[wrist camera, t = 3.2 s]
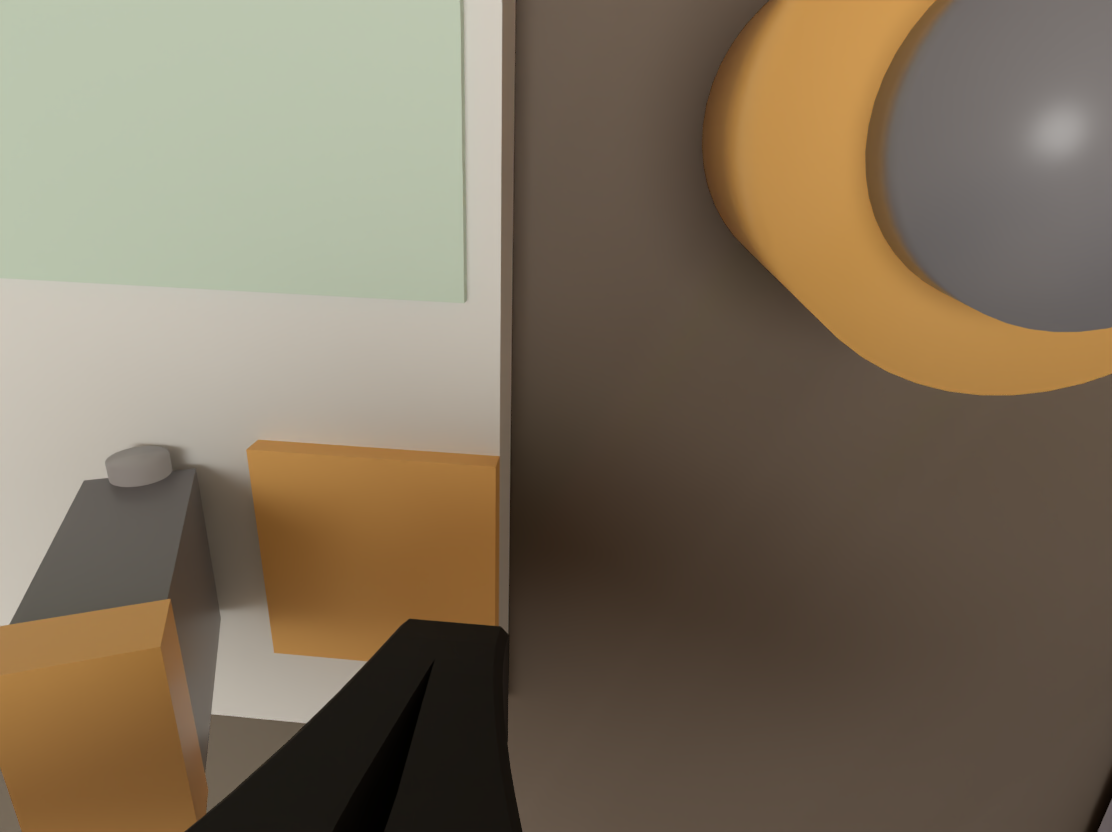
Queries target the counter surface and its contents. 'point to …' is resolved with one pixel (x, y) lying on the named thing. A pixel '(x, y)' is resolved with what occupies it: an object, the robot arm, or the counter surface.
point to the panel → (268, 306)
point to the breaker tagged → (114, 659)
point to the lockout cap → (929, 180)
